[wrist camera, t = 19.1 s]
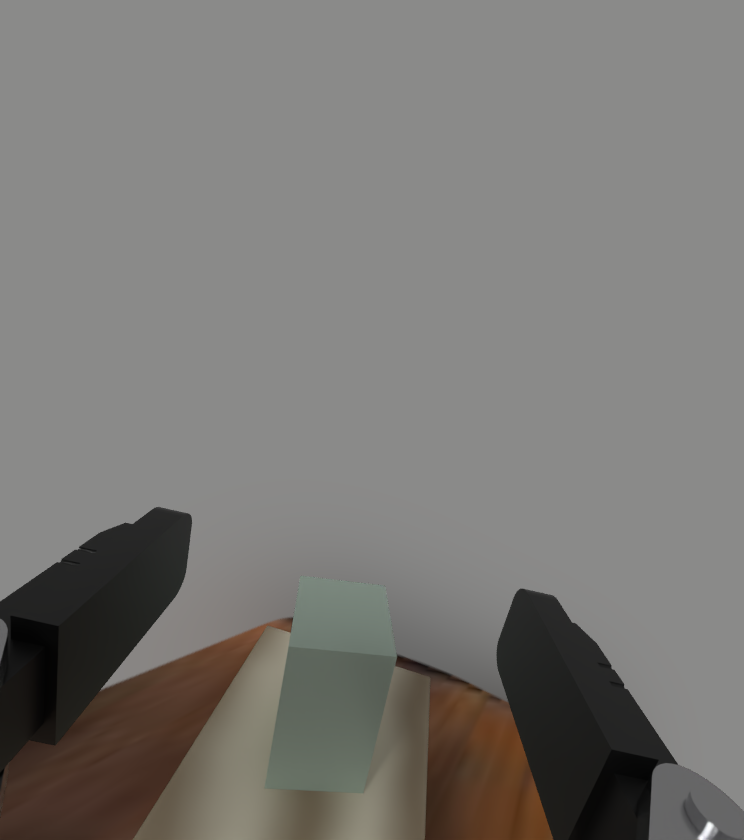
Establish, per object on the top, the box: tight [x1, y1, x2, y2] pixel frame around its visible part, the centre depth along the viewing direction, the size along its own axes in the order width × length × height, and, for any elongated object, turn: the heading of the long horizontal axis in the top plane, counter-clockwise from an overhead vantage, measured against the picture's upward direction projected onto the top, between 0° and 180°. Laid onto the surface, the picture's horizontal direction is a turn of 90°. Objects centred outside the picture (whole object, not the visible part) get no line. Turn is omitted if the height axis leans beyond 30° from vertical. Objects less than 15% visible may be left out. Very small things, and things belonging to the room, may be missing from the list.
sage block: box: [265, 576, 397, 793], centre depth 23 cm, size 6×6×10 cm
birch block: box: [133, 626, 430, 840], centre depth 24 cm, size 14×15×6 cm
